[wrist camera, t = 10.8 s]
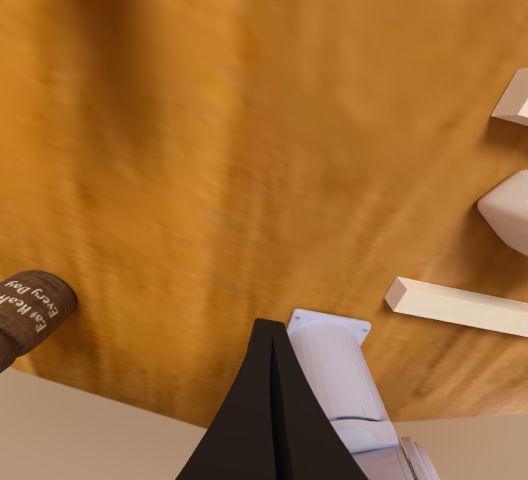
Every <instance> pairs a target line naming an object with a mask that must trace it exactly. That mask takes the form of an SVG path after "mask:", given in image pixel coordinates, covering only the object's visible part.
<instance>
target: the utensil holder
mask: <svg viewBox="0 0 528 480" xmlns="http://www.w3.org/2000/svg"><path fill="white" fill-rule="evenodd" d="M75 305H76V299H75V296H74V293H73V292H72V290H71V289H70V287H69V286H68V285H67V284H66V283H64V282H63V281H62V280H61V279H59V278H57V277H56V276H54V275H51V274H49V273H46V272H42V271H34V270H31V271H24V272H21V273H18V274H16V275H13V276H11V277H10V278H8V279H6V280H4V281H2V282H0V373H1V372H2V371H4V370H5V369H7V368H8V367H9V366H10V365H12V364H13V362H14V361H15V359H16V358H17V357H20V356H23V355H25V354H27V353H28V352H30V351H31V350H33V349H34V348H35V347H37V346H38V345H39V344H40V343H41V342H42V341H43V340H45V339H46V338H47V337H48V336H49V335H50V334H51V333H52V332H53V331H54V330H55V329H56V328H57V327H58V326H60V325H61V324H62V323H63V322H64V321H65V320H66V319H67V318H68V317H69V315H70V314H71V313H72V312H73V310H74V308H75Z"/></svg>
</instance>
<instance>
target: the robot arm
mask: <svg viewBox="0 0 528 480" xmlns="http://www.w3.org/2000/svg"><path fill="white" fill-rule="evenodd" d="M295 317H298V318H295ZM363 329H364V330H363ZM370 329H371V324H370V323H369V322H368V321H363V320H357V319H352V318H347V317H341V316H336V315H330V314H325V313H320V312H314V311H309V310H303V309H295V310H294V311H293V313H292V316H291V318H290V321H289V324H288V327H287V329H286V327H285V324H284V323H283V322H278V321H272V320H266V319H261V318H257V319H255V322H254V325H253V329H252V333H251V336H250V340H249V344H248V349H247V353H246V356H245V359H244V361H243V363H242V366H241V368H240V370H239V372H238V374H237V377H236V379H235V381H234V383H233V385H232V387H231V389H230V391H229V393H228V395H227V397H226V398H225V400H224V402H223V404H222V406H221V407H220V409H219V411H218V413H217V415H216V416H215V418H214V420H213V422H212V423H211V425H210V427H209V428H208V430H207V432H206V433H205V435H204V436H203V438H202V440H201V441H200V443H199V444H198V446H197V448H196V449H195V451H194V452H193V454H192V456H191V457H190V458H189V460H188V462H187V463H186V465H185V466H184V468H183V469H182V471H181V472H180V474H179V475H178V476H177V478H176V479H175V480H416V479H417V480H440V479H439V477H438V475H437V473H436V471H435V469H434V467H433V465H432V463H431V461H430V459H429V457H428V455H427V453H426V451H425V450H424V448H423V447H422V446H421V445H419V444H418V443H416V442H413V440H412V438H410V437H408V436H407V437H402V438H401V439H402V442H403V444H404V447H405V449H406V451H407V454H408V456H409V461H408V459H407V457H406V454H405V452H404V449H403V447H402V445H401V443H400V440H399V438H398V436H397V434H396V432H395V429H394V427H393V425H392V423H391V421H390V420H389V417H388V415H387V412H386V410H385V407H384V405H383V403H382V400H381V398H380V395H379V393H378V390H377V388H376V385H375V383H374V381H373V378H372V376H371V373H370V371H369V368H368V366H367V363H366V361H365V359H364V356H363V354H362V351H361V349H360V346H361V344H362V342H363V341H364V339H365V337H366V336H367V334H368V332H369V331H370ZM409 462H410V464H411V466H410V464H409ZM411 467H412V469H413V471H412V469H411ZM413 472H414V473H413ZM414 474H415V476H416V478H415V476H414Z"/></svg>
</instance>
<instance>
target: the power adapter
mask: <svg viewBox="0 0 528 480" xmlns="http://www.w3.org/2000/svg"><path fill="white" fill-rule="evenodd" d="M477 209H478V210H479V212H480V213H481V215H482V216H483V217H484V219H485V220H486V221H487V222H488V224H489V225H490V226H491V228H492V229H493V230H494V231H495V233H496V234H497V235H498V236H499V237H500V238H501V239H502V241H503V242H504V243H505V244H507V245H508V246H509V247H511V248H513V249H515V250H517V251H518V252H520V253H522V254H524V255H526V256H528V169H526V170H521V171H517V172H515V173H514V174H512V175H511V176H509V177H508V178H506V179H505V180H504V181H502V182H501V183H499V184H498V185H497V186H495V187H494V188H493V189H491V190H490V191H489V192H488V193H486V194H485V195H484V196H483V197H481V198H480V199H479V200H478V204H477Z"/></svg>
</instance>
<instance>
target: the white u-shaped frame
mask: <svg viewBox="0 0 528 480" xmlns="http://www.w3.org/2000/svg"><path fill="white" fill-rule="evenodd" d="M491 116H492V117H496V118H500V119H504V120H507V121H511V122H515V123H518V124H522V125H526V126H528V67H527V68H523V69H519V70H517V72H516V73H515V75H514V77H513V78H512V80H511V82H510V84H509V85H508V87H507V89H506V90H505V92H504V94H503V96H502V97H501V99H500V101H499V102H498V104H497V106H496V108H495V109H494V111H493V113H492V114H491ZM384 298H385V300H386V301H387V303H388V304H389V305H390V307H391V308H392V310H393V311H394V312H399V313H405V314H410V315H415V316H420V317H426V318H431V319H436V320H441V321H447V322H452V323H457V324H462V325H468V326H473V327H478V328H483V329H489V330H494V331H499V332H504V333H510V334H515V335H520V336H525V337H528V303H525V302H520V301H515V300H510V299H505V298H500V297H495V296H490V295H485V294H480V293H476V292H471V291H466V290H461V289H456V288H451V287H446V286H441V285H436V284H431V283H426V282H421V281H416V280H412V279H407V278H402V277H396V278H395V280H394V282H393V283H392V285H391V287H390V289H389V290H388V292H387V294H386V295H385V297H384Z"/></svg>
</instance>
